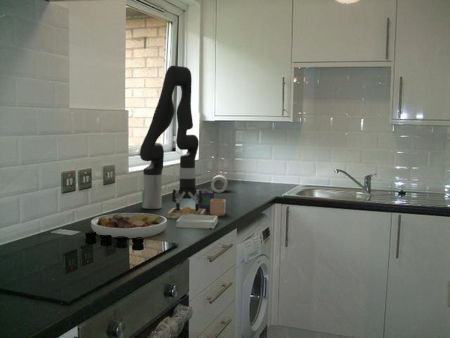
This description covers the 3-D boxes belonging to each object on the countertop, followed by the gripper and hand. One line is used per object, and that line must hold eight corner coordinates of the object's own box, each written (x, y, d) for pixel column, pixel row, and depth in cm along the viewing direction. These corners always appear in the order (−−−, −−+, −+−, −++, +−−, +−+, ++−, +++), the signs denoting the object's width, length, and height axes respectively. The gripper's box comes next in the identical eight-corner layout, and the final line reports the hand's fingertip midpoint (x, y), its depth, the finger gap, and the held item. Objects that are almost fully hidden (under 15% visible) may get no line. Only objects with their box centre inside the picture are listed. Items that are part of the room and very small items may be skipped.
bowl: (98, 224, 213) (98, 206, 212) (168, 224, 215) (168, 206, 214) (83, 241, 183) (83, 220, 183) (164, 241, 185) (164, 220, 185)
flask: (196, 210, 247) (196, 189, 246) (195, 209, 249) (195, 188, 248) (214, 209, 250) (214, 189, 248) (212, 208, 252) (212, 188, 251)
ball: (181, 216, 231) (181, 207, 231) (183, 214, 236) (183, 205, 235) (190, 216, 231) (190, 207, 230) (192, 214, 235) (192, 205, 235)
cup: (209, 215, 235) (209, 201, 234) (211, 212, 242) (211, 198, 241) (224, 216, 234) (224, 201, 233) (225, 213, 241) (225, 199, 240)
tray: (176, 227, 208) (176, 220, 208) (182, 220, 222) (182, 214, 222) (213, 228, 207) (213, 222, 207) (217, 221, 221) (217, 215, 220)
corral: (167, 217, 227) (167, 213, 227) (173, 212, 241) (173, 207, 241) (201, 219, 225) (201, 214, 225) (205, 213, 239) (205, 209, 239)
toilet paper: (211, 190, 318) (212, 174, 317) (227, 190, 318) (227, 175, 316) (210, 192, 308) (211, 176, 307) (226, 192, 308) (227, 177, 307)
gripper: (171, 177, 228) (171, 212, 230) (201, 178, 227) (201, 213, 228) (174, 176, 236) (174, 209, 237) (203, 176, 234) (203, 210, 236)
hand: (187, 211), depth 233 cm, fingers open, 8 cm apart
